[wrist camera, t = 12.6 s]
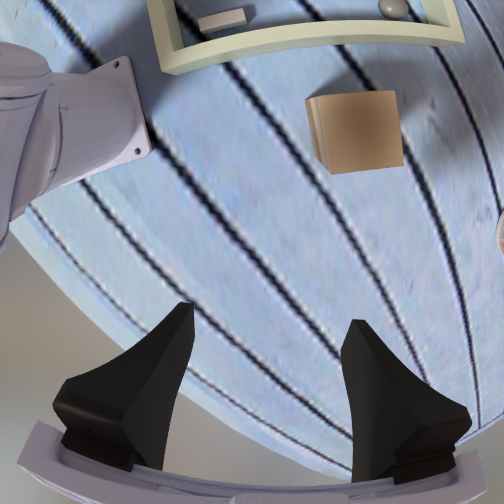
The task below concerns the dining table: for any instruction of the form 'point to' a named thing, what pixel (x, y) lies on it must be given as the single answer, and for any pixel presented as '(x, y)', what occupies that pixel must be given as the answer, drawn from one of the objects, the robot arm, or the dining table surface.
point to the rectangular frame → (296, 33)
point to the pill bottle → (500, 233)
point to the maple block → (356, 131)
